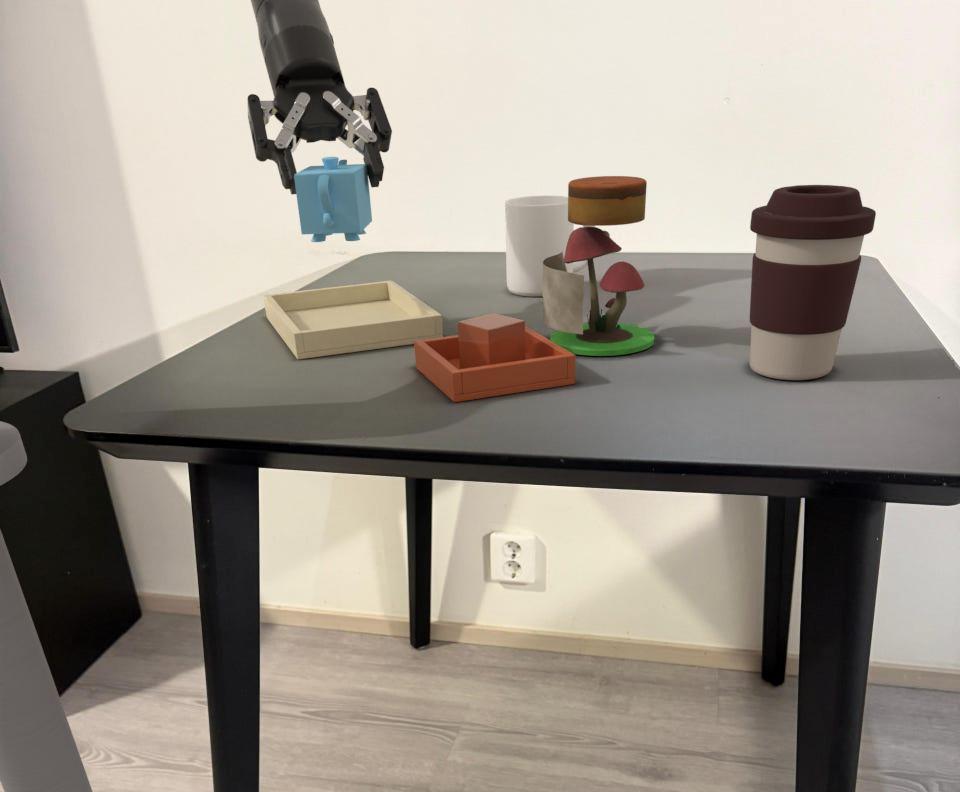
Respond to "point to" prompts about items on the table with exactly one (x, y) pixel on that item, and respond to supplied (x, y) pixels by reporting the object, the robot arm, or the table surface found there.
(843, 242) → the coffee cup
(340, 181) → the teapot
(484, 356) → the clay block
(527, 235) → the mug
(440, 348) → the terracotta tray
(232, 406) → the table surface
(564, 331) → the mushroom figurine
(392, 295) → the cream tray
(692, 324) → the table surface
